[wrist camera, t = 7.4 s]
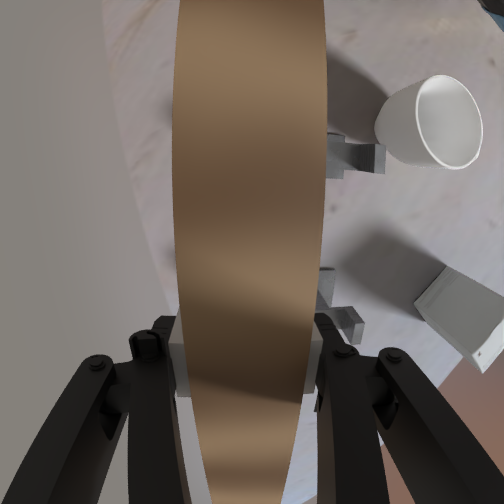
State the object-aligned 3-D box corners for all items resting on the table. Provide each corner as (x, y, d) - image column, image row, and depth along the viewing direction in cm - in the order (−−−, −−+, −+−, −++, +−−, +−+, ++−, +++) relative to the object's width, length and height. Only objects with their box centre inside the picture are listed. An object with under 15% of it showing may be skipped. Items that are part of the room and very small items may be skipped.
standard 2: (270, 269, 36) (285, 315, 26) (334, 268, 37) (369, 310, 26) (268, 307, 38) (281, 361, 27) (329, 304, 38) (360, 354, 28)
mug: (351, 148, 32) (406, 144, 21) (369, 84, 30) (424, 57, 18) (426, 184, 34) (490, 196, 22) (440, 124, 32) (504, 119, 20)
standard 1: (273, 131, 31) (293, 118, 21) (342, 136, 32) (388, 130, 21) (272, 175, 33) (292, 184, 22) (341, 178, 33) (386, 190, 23)
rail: (196, 30, 9) (182, -19, 6) (296, 32, 10) (322, -13, 6) (216, 472, 17) (215, 517, 14) (271, 471, 18) (277, 515, 14)
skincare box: (426, 323, 41) (480, 378, 26) (410, 301, 39) (470, 358, 25) (461, 285, 39) (522, 329, 25) (448, 261, 38) (516, 303, 23)
